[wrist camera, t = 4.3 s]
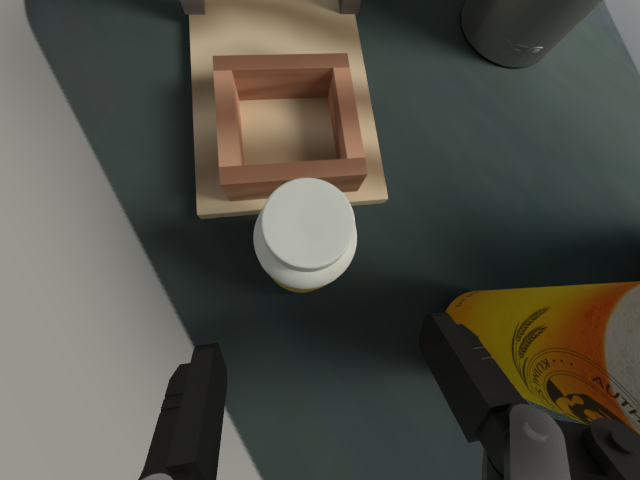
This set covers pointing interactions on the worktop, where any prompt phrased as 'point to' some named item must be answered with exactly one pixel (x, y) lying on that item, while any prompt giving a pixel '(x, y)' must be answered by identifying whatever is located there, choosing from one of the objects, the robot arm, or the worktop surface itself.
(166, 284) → the worktop surface
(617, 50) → the worktop surface
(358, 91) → the awning socket stand
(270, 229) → the supplement bottle
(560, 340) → the yellow soda can
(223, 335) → the worktop surface
